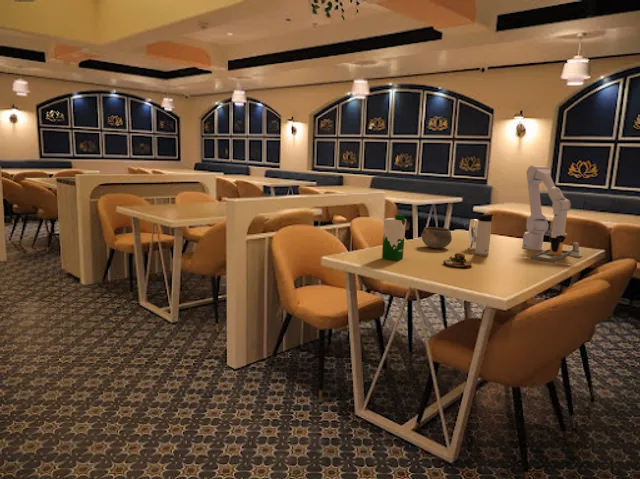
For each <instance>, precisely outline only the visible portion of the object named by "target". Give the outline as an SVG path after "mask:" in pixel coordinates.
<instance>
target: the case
mask: <svg viewBox="0 0 640 479" xmlns="http://www.w3.org/2000/svg"><path fill="white" fill-rule="evenodd" d="M539 253H541V255H542V254H547V256H562V257H561V259H563V258H566V257H567V256H569V255H568V253H569V250H564V249H562V255H555V254H550V248H547V249H546V250H545V249H544V250H543V251H542V250H541V251H540V252H539Z"/></svg>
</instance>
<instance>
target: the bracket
mask: <svg viewBox="0 0 640 479" xmlns="http://www.w3.org/2000/svg"><path fill="white" fill-rule="evenodd" d="M572 250H573V248H571V249H569V250H568V251H569V253H568V255H567V256H568V257H569V256H571V257H577V258H580V257H581V256H582V253H583V251H582V250H578V252H576V251H572Z"/></svg>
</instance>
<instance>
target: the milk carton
mask: <svg viewBox="0 0 640 479" xmlns="http://www.w3.org/2000/svg"><path fill="white" fill-rule="evenodd" d="M406 224H407V219H406V218H405V214H395V215H394V217H388V218H384V219H383V234H382V236H383V237H382V250H381V251H382V252H381V254H382V256H381V259H382V260H387V261H388V260H389V261H395V262H398V261H400V260H403V258H404V249H405V248H404V245H405V237H406V236H405V233H406Z"/></svg>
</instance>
